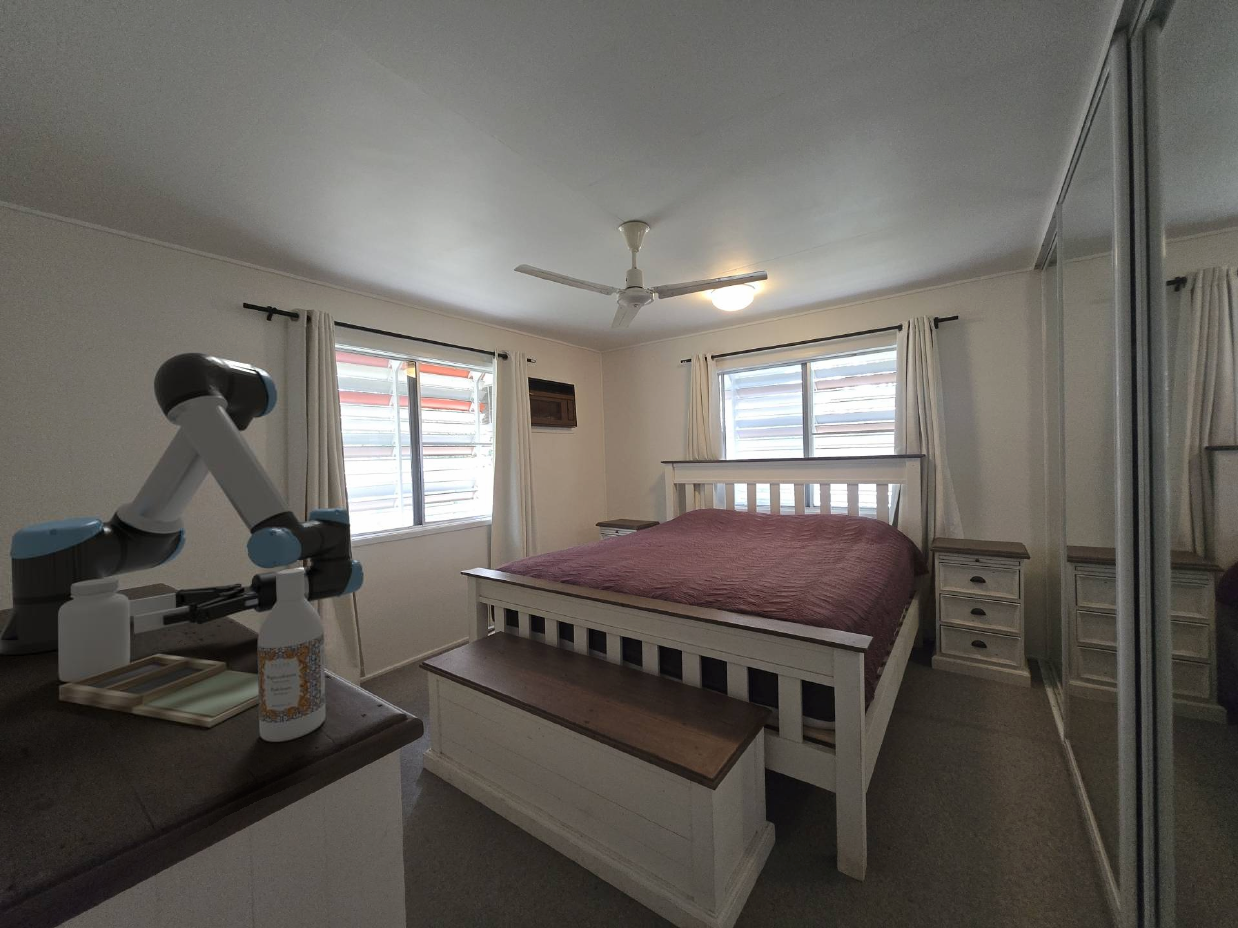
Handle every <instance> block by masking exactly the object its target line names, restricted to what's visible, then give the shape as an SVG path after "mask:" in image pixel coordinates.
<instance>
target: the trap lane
mask: <svg viewBox="0 0 1238 928" xmlns="http://www.w3.org/2000/svg"><path fill="white" fill-rule="evenodd" d="M58 693H59V694H58V695H59V696H58V697H59V701H64V702H69V703H74V704H75V703H76V704H78V705H79V704H80V705H85V706H90V707H96V708H101V709H107V710H112V711H119V712H124V713H130V714H135V715H140V716H145V717H150V718H151V717H152V718H157V719H163V720H168V721H172V722H173V721H174V722H177V723H179V722H180V723H183V724H189V725H194V726H200V727H205V728H212V727H213V726H215V725H218V724H220V723H221V722H223V721H225V720H228V719H229V718H231V717H234V716H235V715H237V714H239V713H241V712H243V711H246V710H248V709H250V708H251V707H254V706H256V705H259V692H258V673H251V672H243V671H242V672H241V671H235V670H229V669H228V670H227V662H225V661H217V660H207V659H201V658H200V659H199V658H195V657H194V658H193V657H185V656H178V655H170V654H165V653H164V654H163V653H157V654H156V653H155V654H154V655H150V656H146V657H144V658H141V659H138V660H135V661H131V662H130V663H128V664H125V665H122V666H119V667H116V668H113V669H110V670H107V671H104V672H101V673H98V674H95V675H92V676H89V677H85V678H82V679H79V680H76V681H73V682H66V683H65V684H60V685H58Z"/></svg>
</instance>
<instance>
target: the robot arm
mask: <svg viewBox="0 0 1238 928" xmlns="http://www.w3.org/2000/svg"><path fill="white" fill-rule="evenodd" d="M153 380H154V381H153V389H154V396H155V398H156V401H157V404H158V406H159V408H160V409H161V412H162V414H163V415H164V416H165V418H166V419H167V421H168V422H169V423H171V424H173V425H175V426H179V429H178V430H177V432H176V433H175V435H174V437H173V438H172V440H171V441H170V443H169V445H168V446H167V447H166V449H165V451H164V452H163V454H162V455H161V457H160V458H159V460H158V462H157V463H156V464H155V466H154V468H153V469H152V471H151V472H150V474H149V475H148V477H147V478H146V481H145V482H144V484H143V485H142V486H141V488H140V490H139V491H138V493H137V494H136V496H135V497H134V499H133V500H132V502H126V503H123V504H121V505H119V507H117V509H116V510H115V512H114V514H113V515H112V517H111V518H110V519H109V521H105V522H103V521H102V520H101V519H100V518H99V517H78V518H77V517H76V518H75V517H74V518H67V519H64V520H62V519H61V520H53V521H46V522H41V523H38V524H33V525H29V526H26V527H23V528H21V529H18V530H17V531H16V532H15V533H14V534H13V535H12V537H11V546H10V551H9V556H10V558H11V586H12V587H11V588H12V589H11V591H12V608H11V609H12V610H11V612H10V614H9V616H8V618H7V620H6V622H5V625H4V627H3V629H2V632H1V634H0V655H5V656H6V655H7V656H9V655H10V656H11V655H12V656H16V655H30V654H35V653H36V654H37V653H42V652H48V651H49V652H50V651H56V650H58V612H59V609H60V608H61V606H62V605H64V604H65V603H67V602H69V601H71V600H73V598H72V597H71V595H72V594H71V586H72V584H74V583H78V582H82V581H88V580H95V579H105V578H108V577H114V576H117V575H123V574H128V573H134V572H137V571H138V572H139V571H144V570H150V569H154V568H156V567H158V566H162V565H165V564H168V563H170V562H171V561H173V560H175V558H177V557H178V555H179V554H180V553H181V552H182V550H183V549H184V547H185V544H186V539H187V538H186V537H184V535H186V529H185V527H184V525H185V522H184V520H183V518H182V514H183V512H184V511H185V510H186V508H187V507H188V505H189V503H190V502H191V500H192V499H193V497H194V495H195V494H196V493H197V491H198V490H199V488H200V486H201V485H202V483H203V482H204V480H205V479H206V478H207V476H208V474H209V472H210V474H211V475H212V477H213V478H214V480H215V481H216V483H217V485H218V486H219V487H220V489H221V490H222V491H223V493H224V494H225V496H226V498H227V499H228V501H229V503H230V504H231V505H232V507H233V508H234V510H235V512H236V513H237V514H238V516H239V518H240V519H241V521H242V522H243V523H244V526H245V527H246V528H247V530H248V532H250V535H251V536H250V537H249V539H248V540H247V544H246V549H247V556H248V559H249V560H250V561H251V562H252V563H253V564H254V565H255V566H257V567H259V568H261V569H262V568H263V569H273V568H274V569H275V568H281V567H287V566H289V565H292V564H295V563H298V562H300V561H303V560H308V559H309V562H310V565H307V566H299V567H293V568H291V569H303V570H304V597H305V598H306V600H307V601H308V602H309V603H310V602H315V601H320V600H326V599H331V598H336V597H337V598H338V597H341V596H345V595H349V594H352V593H355V592H357V591H359V590H360V589H361V587H362V586H363V583H364V576H365V575H364V571H363V565H362V564H361V561H360V560H359V559H355V558H351V523H350V516H349V511H348V510H347V509H346V508H343V507H333V508H332V507H329V508H328V507H327V508H318V509H317V508H316V509H312V510H311V511H310V512H309V513H308V514H309V515H308V519H307V521H299V520H298V518H297V516H296V514H294V512H293V510H292V509H291V508H290V506H289V504H288V502H286V500H285V498H284V497H283V495H282V494H281V492H280V491H279V489H278V488H277V486H276V484H275V483H274V482H273V480H272V478H271V477H270V475H268V473H267V471H266V470H265V468H264V467H263V465H262V463H261V462H260V460H259V458H258V457H257V456H256V455H255V453H254V451H253V450H252V448H251V447H250V445H249V443H248V442H247V441H246V439H245V437H244V436H243V435H242V433H241V432H244V431H246V430H247V429H248V427H249V425H250V424H251V423H252V421H253V419H254V418H255V419H259V418H262V417H266V416H268V414H270V413H272V411H274V408H275V406H276V404H277V401H278V389H276V384H275V381H274V380H273V378H272V377H271V375H269V374H268V372H266V371H265V370H263V369H261V368H259V367H256V366H253V365H251V364H250V363H245V362H238V361H236V360H230V359H225V358H223V357H217V356H213V355H210V354H206V353H201V352H186V353H184V352H183V353H181V354H177V355H174V356H173V357H170V358H169V359H166V361H164V362H163V363H162V364H161V365H160V367H159V368H158V370H157V371H156V373H155V376H154V379H153ZM289 569H290V568H288V569H287V568H286V569H285V570H289ZM283 570H284V569H281V570H279V571H283ZM276 574H277V572H276V571H269V572H264V573H263V572H262V573H256V574H254V575H253V576H252V578H251V584H250V585H249V586H242V583H237V582H236V583H234V584H228V585H218V586H207V587H206V586H205V587H196V588H186V589H183V588H181V589H179V590H177V592H175V593H167V594H163V595H162V594H161V595H155V596H150V597H144V598H137V599H130V600H129V602H130V617H133V634H140V633H145V632H149V631H155V630H159V629H160V630H161V629H164V628H170V627H175V626H179V625H183V624H188V623H190V624H192V623H193V624H194V623H195V624H196V625H202V624H203V625H204V624H206V623H209V622H211V621H216V620H217V619H222V618H224V617H228V616H231V615H235V614H237V613H240V612H245V611H249V610H255V612H256V613H264V612H270V611H271V609H272V608H273V606H274V605H275V603H276V602H277V591H276Z"/></svg>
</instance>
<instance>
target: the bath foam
mask: <svg viewBox="0 0 1238 928" xmlns="http://www.w3.org/2000/svg"><path fill="white" fill-rule="evenodd" d="M288 569H289V570H286V569H282V570H283V571H280V570H278V571H277V572H276V573H277V574H276V591H277V602H276V603H275V605H274V606H273V608H272V609H271V610H269V611H268V613H267V615H266V617H265V618H264V620H263V622H262V624H261V626H260V628H259V629H260V630H259V632H258V638H257V644H256V645H257V647H256V648H257V674H258V692H259V703H258V720H259V724H258V725H259V736H260V738H262V740H264V741H266V742H271V743H279V742H280V743H281V742H287V741H292V740H295V739H298V738H300V737H303V736H306V735H308V734H310V733H312V732H313V731H315V730H316V729H318V728H319V727H320V726H321V725H322V724H323V723H324V721H325V718H326V675H325V674H326V673H325V672H326V671H325V670H326V669H325V667H326V666H325V664H326V663H325V632H324V625H323V622H322V618H321V617H320V613H319V612H318V611H317V610H316V609H315V607H314V606H313V604H311V603H310V602H308V601H307V600H306V598H305V597H304V570H303V569H292V568H288Z"/></svg>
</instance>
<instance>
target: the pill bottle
mask: <svg viewBox="0 0 1238 928" xmlns="http://www.w3.org/2000/svg"><path fill="white" fill-rule="evenodd" d="M119 587H120V581H119V578H111V577H110V578H108V577H105V578H103V579H95V580H88V581H82V582H78V583H74V584H72V586H71V594H72V595H71V597H72V598H73V600H71V601H69V602H67V603H65V604H64V605H62V606H61V608H60V609H59V612H58V649H57V650H58V651H57V652H58V678H59V680H60V681H61V682H66V683H70V682H73V681H76V680H79V679H82V678H85V677H89V676H92V675H95V674H98V673H101V672H104V671H107V670H110V669H113V668H116V667H119V666H122V665H125V664H128V663H131V662H130V661H131V623H130V622H131V620H130V619H131V616H130V602H129V601H130V600H129V598H128V596H127V595H124V594H122V593H117V592H119Z"/></svg>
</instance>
